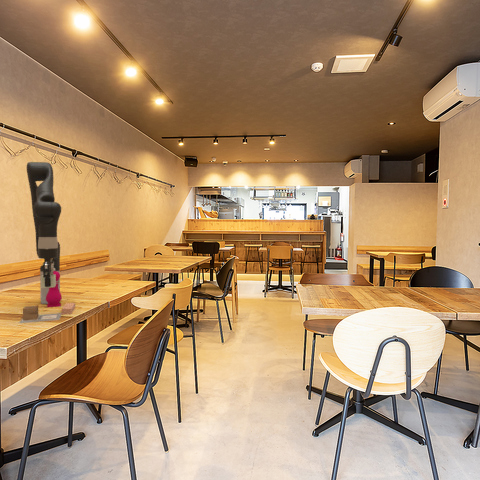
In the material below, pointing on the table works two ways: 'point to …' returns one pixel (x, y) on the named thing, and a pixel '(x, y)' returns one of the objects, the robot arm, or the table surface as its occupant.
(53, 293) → the pepper mill
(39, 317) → the board
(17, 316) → the table surface
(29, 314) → the walnut cube
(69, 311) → the lintel
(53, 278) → the sage cube
